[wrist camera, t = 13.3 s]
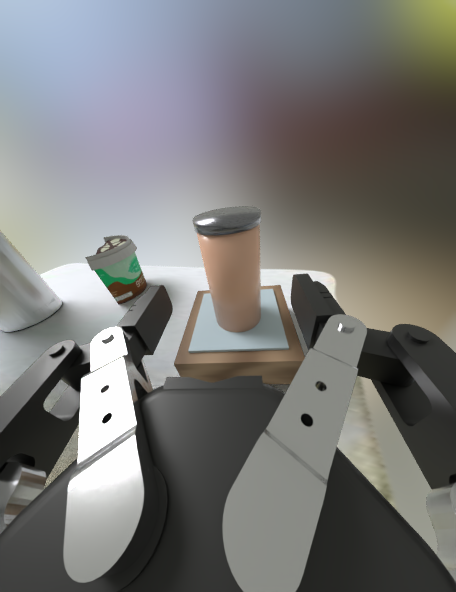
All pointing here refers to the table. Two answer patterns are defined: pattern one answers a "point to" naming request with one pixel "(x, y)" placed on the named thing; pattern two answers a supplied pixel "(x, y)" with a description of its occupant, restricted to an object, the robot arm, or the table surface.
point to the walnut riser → (241, 343)
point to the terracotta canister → (232, 264)
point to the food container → (119, 268)
